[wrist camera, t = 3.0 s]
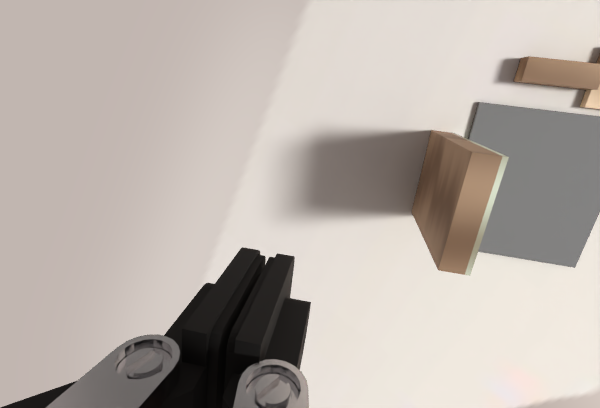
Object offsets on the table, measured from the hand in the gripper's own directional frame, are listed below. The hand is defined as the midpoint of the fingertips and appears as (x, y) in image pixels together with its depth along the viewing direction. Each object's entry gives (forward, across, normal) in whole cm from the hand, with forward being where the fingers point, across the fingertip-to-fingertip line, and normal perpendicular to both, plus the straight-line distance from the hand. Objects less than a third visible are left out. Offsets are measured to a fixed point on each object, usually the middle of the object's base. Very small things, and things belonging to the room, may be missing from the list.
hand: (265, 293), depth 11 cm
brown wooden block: (+20, -9, -1) cm, 22 cm away
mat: (+20, -17, -1) cm, 26 cm away
